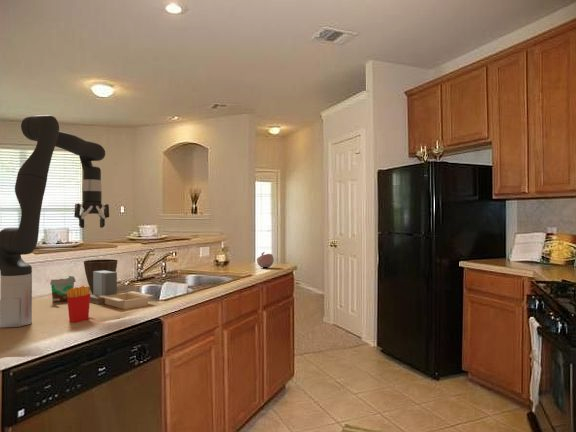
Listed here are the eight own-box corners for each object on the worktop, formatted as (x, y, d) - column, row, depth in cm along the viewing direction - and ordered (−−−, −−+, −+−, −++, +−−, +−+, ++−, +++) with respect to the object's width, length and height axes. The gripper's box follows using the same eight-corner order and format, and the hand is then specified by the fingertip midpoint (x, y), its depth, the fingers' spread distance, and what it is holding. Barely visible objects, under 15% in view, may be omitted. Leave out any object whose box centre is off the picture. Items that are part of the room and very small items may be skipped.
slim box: (105, 297, 185) (105, 273, 185) (93, 294, 192) (93, 271, 192) (116, 295, 189) (116, 272, 189) (104, 292, 196) (104, 270, 196)
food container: (62, 303, 188) (62, 280, 188) (50, 303, 189) (50, 279, 189) (81, 298, 200) (81, 276, 200) (69, 297, 201) (69, 275, 201)
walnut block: (98, 306, 182) (98, 298, 182) (85, 302, 190) (85, 295, 190) (125, 301, 191) (125, 294, 191) (111, 298, 199) (111, 291, 199)
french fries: (85, 317, 162) (84, 284, 162) (92, 318, 160) (92, 285, 160) (64, 322, 155) (64, 288, 155) (71, 323, 153) (71, 288, 153)
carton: (118, 312, 171) (118, 300, 171) (98, 306, 182) (98, 296, 182) (153, 306, 182) (153, 295, 182) (133, 301, 193) (133, 291, 193)
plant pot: (84, 292, 215) (84, 259, 215) (117, 290, 220) (117, 258, 220) (82, 297, 201) (82, 262, 201) (117, 295, 206) (117, 261, 206)
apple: (266, 266, 322) (266, 251, 322) (277, 268, 312) (277, 252, 312) (253, 268, 314) (253, 252, 314) (263, 269, 305) (263, 253, 305)
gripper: (79, 189, 185) (79, 228, 185) (112, 190, 195) (112, 227, 195) (71, 190, 190) (71, 227, 190) (103, 191, 200) (104, 227, 200)
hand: (92, 227), depth 193 cm, fingers open, 8 cm apart
